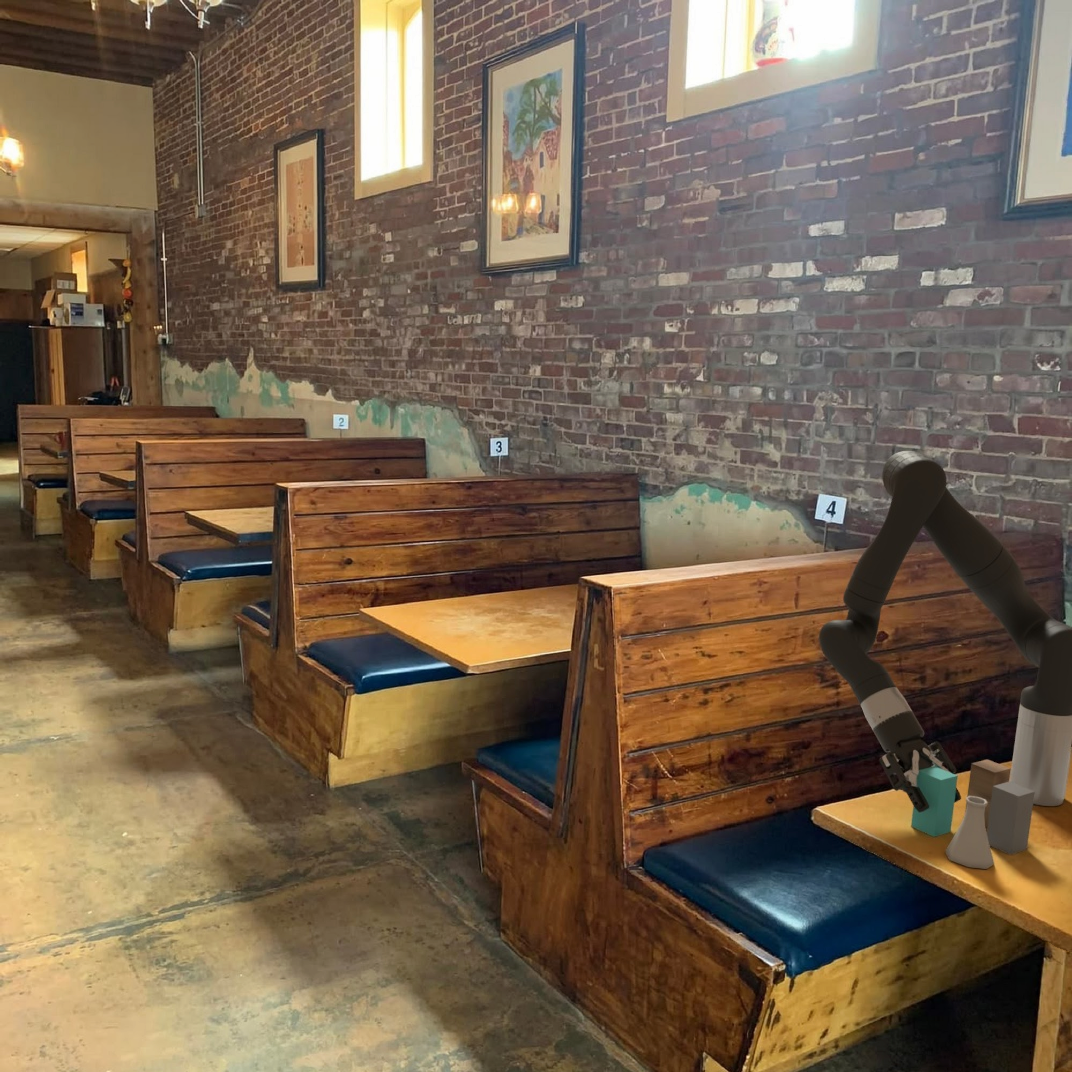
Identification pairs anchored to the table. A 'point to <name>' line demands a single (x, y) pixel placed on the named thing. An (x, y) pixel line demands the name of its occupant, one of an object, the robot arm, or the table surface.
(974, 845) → the flask
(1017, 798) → the charcoal post
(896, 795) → the table surface
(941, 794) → the teal post
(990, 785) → the walnut post
